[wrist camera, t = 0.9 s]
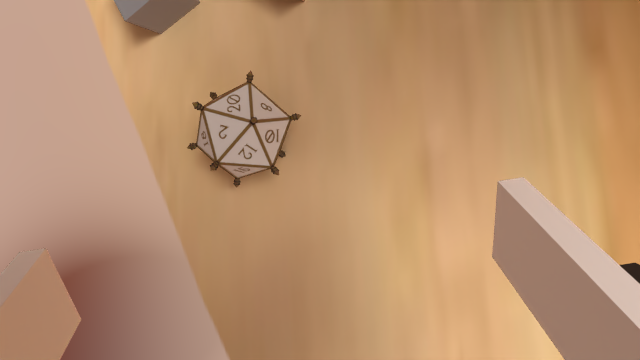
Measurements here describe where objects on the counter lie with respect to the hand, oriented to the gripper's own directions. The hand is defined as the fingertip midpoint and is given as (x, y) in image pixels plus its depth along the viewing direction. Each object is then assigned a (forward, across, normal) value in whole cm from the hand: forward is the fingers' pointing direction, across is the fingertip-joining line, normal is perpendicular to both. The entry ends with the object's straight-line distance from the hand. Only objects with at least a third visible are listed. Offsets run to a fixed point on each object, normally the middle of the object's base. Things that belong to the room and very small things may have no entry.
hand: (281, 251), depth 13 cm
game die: (+28, -2, -7) cm, 29 cm away
